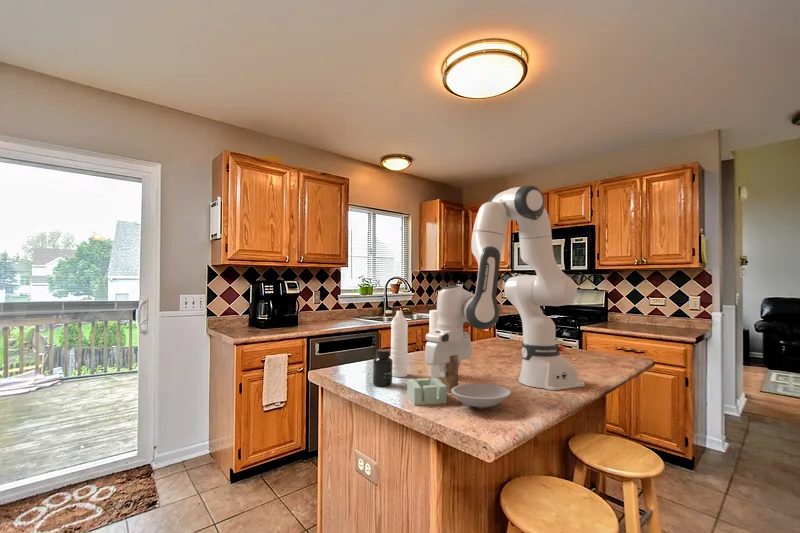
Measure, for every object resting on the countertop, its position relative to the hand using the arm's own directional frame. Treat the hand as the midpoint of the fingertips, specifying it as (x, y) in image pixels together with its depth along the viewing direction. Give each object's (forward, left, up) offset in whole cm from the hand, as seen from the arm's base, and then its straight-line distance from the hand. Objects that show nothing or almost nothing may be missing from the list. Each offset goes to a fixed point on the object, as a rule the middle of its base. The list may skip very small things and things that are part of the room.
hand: (449, 375), depth 126 cm
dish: (-4, +17, -5) cm, 19 cm away
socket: (+10, +7, -5) cm, 13 cm away
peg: (0, 0, -5) cm, 5 cm away
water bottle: (+14, -22, -5) cm, 27 cm away
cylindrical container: (-2, -19, -5) cm, 20 cm away
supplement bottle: (+21, -11, -5) cm, 24 cm away
